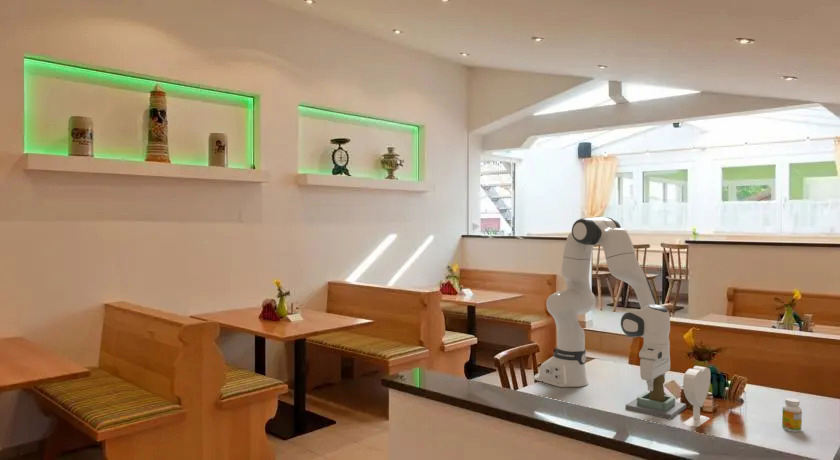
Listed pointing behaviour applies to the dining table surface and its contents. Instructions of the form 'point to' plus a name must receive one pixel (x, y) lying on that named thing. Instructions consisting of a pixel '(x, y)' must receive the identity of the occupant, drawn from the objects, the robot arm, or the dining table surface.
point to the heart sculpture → (696, 392)
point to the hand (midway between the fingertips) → (655, 387)
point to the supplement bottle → (792, 415)
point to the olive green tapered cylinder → (658, 389)
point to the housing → (656, 406)
